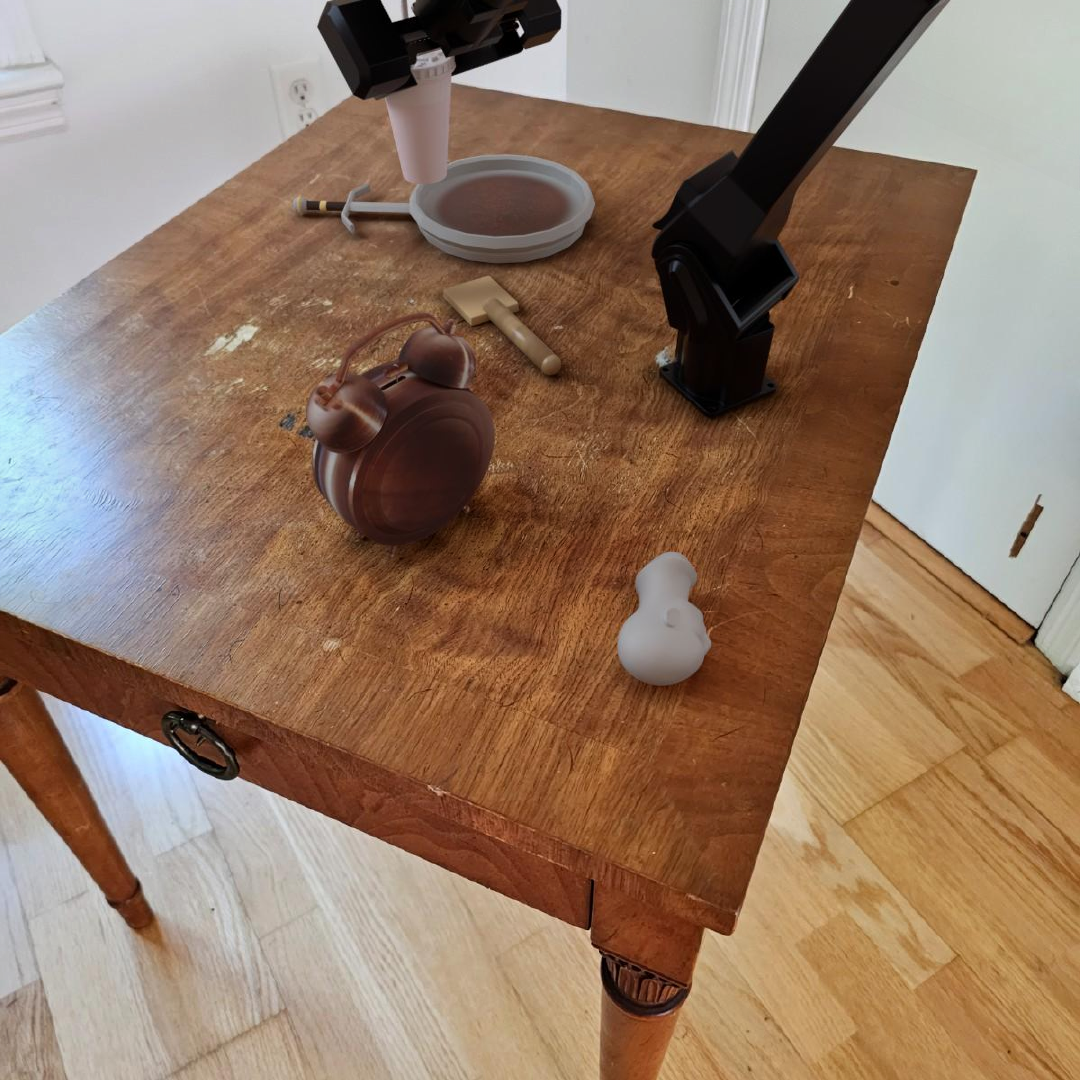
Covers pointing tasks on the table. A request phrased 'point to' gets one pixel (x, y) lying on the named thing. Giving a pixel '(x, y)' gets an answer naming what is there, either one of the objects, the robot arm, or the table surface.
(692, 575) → the smooth white sculpture
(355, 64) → the robot arm
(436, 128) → the smoothie
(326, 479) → the alarm clock
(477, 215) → the frying pan
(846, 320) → the table surface
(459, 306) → the spatula
